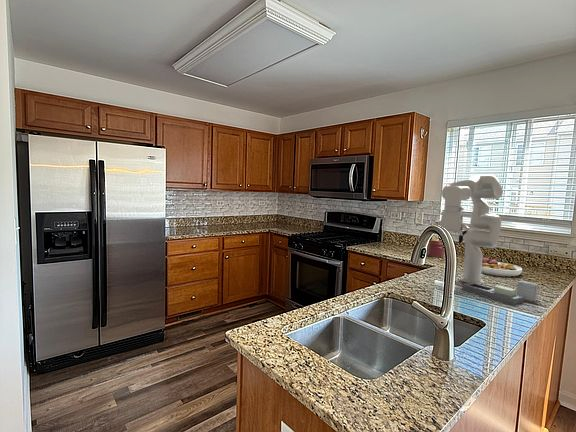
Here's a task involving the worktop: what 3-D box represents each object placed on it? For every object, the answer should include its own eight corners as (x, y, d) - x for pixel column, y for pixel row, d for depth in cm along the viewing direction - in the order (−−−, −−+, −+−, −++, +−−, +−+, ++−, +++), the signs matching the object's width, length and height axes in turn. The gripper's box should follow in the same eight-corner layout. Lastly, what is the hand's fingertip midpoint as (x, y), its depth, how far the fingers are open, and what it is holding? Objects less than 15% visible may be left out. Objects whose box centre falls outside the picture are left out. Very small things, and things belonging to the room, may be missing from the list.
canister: (435, 258, 262) (437, 237, 261) (424, 255, 274) (425, 235, 273) (447, 257, 267) (448, 236, 265) (435, 254, 279) (436, 234, 278)
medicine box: (536, 300, 161) (538, 283, 160) (535, 302, 157) (536, 285, 157) (518, 296, 166) (519, 280, 165) (516, 298, 163) (517, 281, 162)
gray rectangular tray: (472, 287, 179) (472, 282, 179) (524, 302, 157) (524, 296, 156) (462, 289, 175) (462, 284, 174) (514, 305, 152) (515, 298, 152)
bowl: (532, 278, 205) (533, 267, 204) (486, 277, 205) (487, 265, 205) (502, 267, 235) (503, 257, 234) (462, 266, 235) (462, 256, 235)
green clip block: (498, 296, 165) (498, 285, 165) (515, 301, 158) (516, 289, 158) (493, 297, 163) (494, 286, 162) (510, 302, 156) (511, 290, 155)
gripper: (472, 210, 162) (470, 243, 163) (437, 208, 174) (435, 239, 175) (468, 210, 156) (466, 244, 158) (432, 208, 168) (430, 240, 169)
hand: (450, 241), depth 166 cm, fingers open, 9 cm apart
